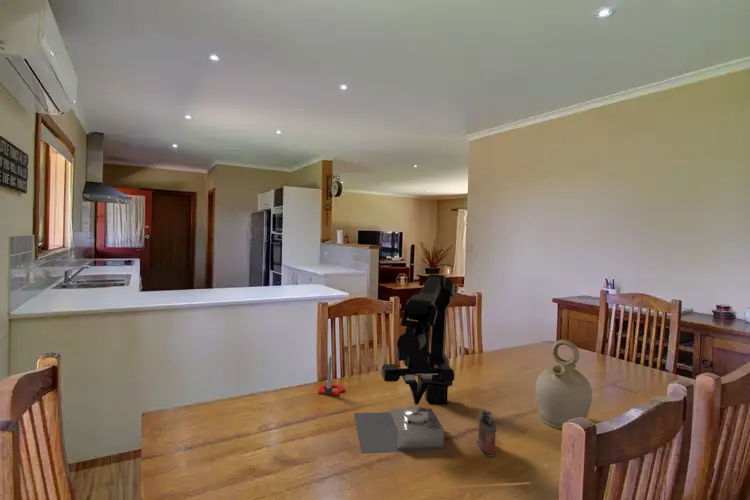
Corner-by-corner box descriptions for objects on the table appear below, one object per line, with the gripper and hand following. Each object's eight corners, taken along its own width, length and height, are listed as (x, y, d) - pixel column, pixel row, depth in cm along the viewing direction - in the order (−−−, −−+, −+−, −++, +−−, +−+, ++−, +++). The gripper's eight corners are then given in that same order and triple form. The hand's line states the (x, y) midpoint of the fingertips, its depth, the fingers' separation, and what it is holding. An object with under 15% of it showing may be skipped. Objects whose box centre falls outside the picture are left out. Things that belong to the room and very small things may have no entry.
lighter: (474, 442, 108) (476, 405, 108) (486, 442, 108) (488, 405, 108) (484, 459, 100) (486, 419, 100) (498, 458, 100) (500, 419, 100)
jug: (566, 438, 112) (572, 349, 111) (522, 415, 126) (527, 335, 125) (601, 428, 119) (607, 344, 118) (556, 407, 133) (561, 331, 132)
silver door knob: (423, 428, 112) (424, 405, 112) (429, 440, 106) (430, 416, 106) (400, 429, 111) (401, 406, 111) (405, 441, 105) (406, 417, 105)
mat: (425, 412, 125) (425, 411, 125) (448, 451, 103) (448, 450, 103) (353, 414, 122) (353, 413, 121) (361, 454, 100) (361, 453, 100)
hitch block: (430, 425, 116) (430, 408, 115) (443, 448, 104) (444, 428, 103) (388, 426, 114) (389, 409, 114) (396, 449, 102) (397, 430, 102)
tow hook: (323, 386, 144) (315, 395, 135) (325, 349, 144) (317, 356, 135) (346, 388, 142) (340, 398, 133) (348, 351, 142) (342, 358, 133)
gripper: (443, 338, 117) (440, 391, 118) (379, 338, 114) (377, 392, 115) (456, 349, 106) (453, 408, 107) (386, 349, 103) (383, 409, 104)
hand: (416, 403), depth 108 cm, fingers closed
